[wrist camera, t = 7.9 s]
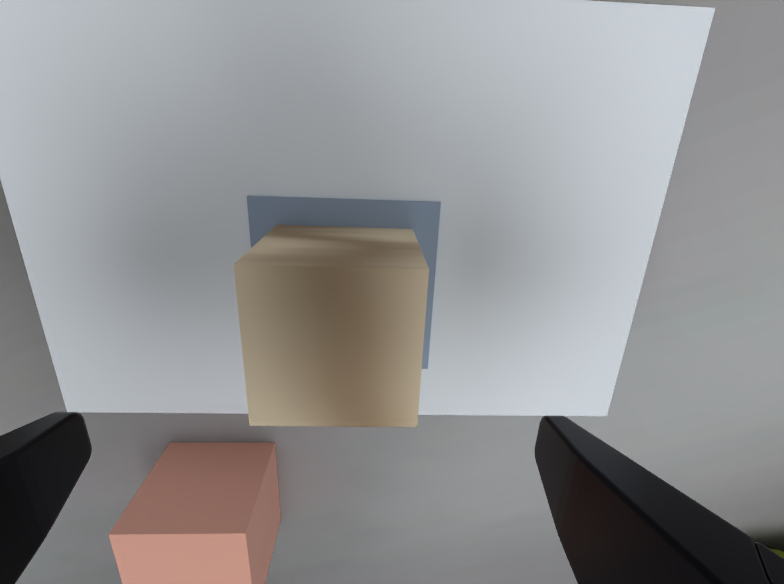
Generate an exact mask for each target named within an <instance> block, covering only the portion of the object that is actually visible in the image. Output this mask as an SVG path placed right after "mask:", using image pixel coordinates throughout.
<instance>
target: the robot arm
mask: <svg viewBox="0 0 784 584" xmlns="http://www.w3.org/2000/svg"><path fill="white" fill-rule="evenodd" d="M90 455H91V442H90V439H89V435H88V431H87V428H86V424H85V420H84V418H83V416H82V415H81V414H80V413H78V412H55V413H52V414H50V415H47V416H45V417H43V418H41V419H38V420H36V421H34V422H31V423H29V424H27V425H25V426H22V427H20V428H18V429H15V430H13V431H11V432H9V433H6V434H4V435H2V436H0V584H15V583H16V581H17V580H18V578H19V577H20V576H21V574H22V573H23V571H24V570H25V568H26V567H27V565H28V564H29V562H30V561H31V559H32V558H33V556H34V555H35V553H36V552H37V550H38V549H39V547H40V546H41V544H42V542H43V541H44V539H45V538H46V536H47V534H48V532H49V531H50V529H51V527H52V526H53V524H54V522H55V520H56V519H57V517H58V515H59V513H60V511H61V510H62V508H63V506H64V504H65V502H66V500H67V499H68V497H69V495H70V493H71V491H72V490H73V488H74V486H75V484H76V482H77V481H78V479H79V477H80V475H81V473H82V472H83V470H84V468H85V466H86V464H87V463H88V461H89V458H90ZM535 459H536V463H537V466H538V470H539V473H540V476H541V480H542V483H543V486H544V490H545V493H546V496H547V500H548V503H549V507H550V510H551V513H552V517H553V520H554V523H555V526H556V529H557V533H558V536H559V538H560V541H561V543H562V546H563V549H564V551H565V553H566V556H567V558H568V561H569V563H570V566H571V568H572V570H573V573H574V575H575V578H576V580H577V583H578V584H784V558H782V557H781V556H779V555H778V554H776V553H775V552H773V551H772V550H770V549H769V548H767V547H766V546H764V545H763V544H761V543H759V542H754V540H753V539H752V538H751V537H750V536H748V535H747V534H745V533H744V532H742V531H741V530H739V529H738V528H736V527H734V526H733V525H731V524H730V523H728V522H727V521H725V520H724V519H722V518H721V517H719V516H717V515H716V514H714V513H713V512H711V511H710V510H708V509H707V508H705V507H704V506H702V505H700V504H699V503H697V502H696V501H694V500H693V499H691V498H690V497H688V496H687V495H685V494H684V493H682V492H680V491H679V490H677V489H676V488H674V487H673V486H671V485H670V484H668V483H667V482H665V481H663V480H662V479H660V478H659V477H657V476H656V475H654V474H653V473H651V472H650V471H648V470H646V469H645V468H643V467H642V466H640V465H639V464H637V463H636V462H634V461H633V460H631V459H629V458H628V457H626V456H625V455H623V454H622V453H620V452H619V451H617V450H616V449H614V448H612V447H611V446H609V445H608V444H606V443H605V442H603V441H602V440H600V439H599V438H597V437H595V436H594V435H592V434H591V433H589V432H588V431H586V430H585V429H583V428H582V427H580V426H578V425H577V424H575V423H574V422H572V421H571V420H569V419H568V418H566V417H564V416H544V417H542V419H541V421H540V425H539V430H538V435H537V440H536V445H535Z"/></svg>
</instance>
